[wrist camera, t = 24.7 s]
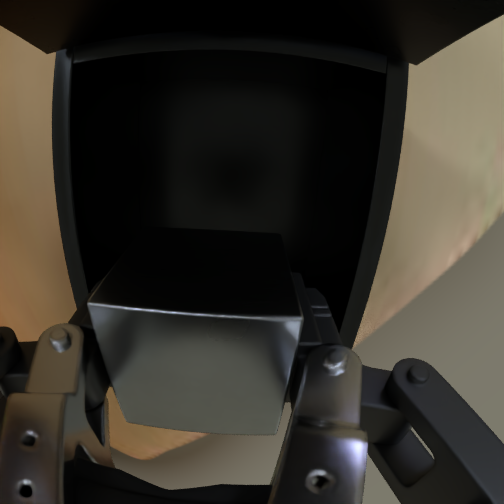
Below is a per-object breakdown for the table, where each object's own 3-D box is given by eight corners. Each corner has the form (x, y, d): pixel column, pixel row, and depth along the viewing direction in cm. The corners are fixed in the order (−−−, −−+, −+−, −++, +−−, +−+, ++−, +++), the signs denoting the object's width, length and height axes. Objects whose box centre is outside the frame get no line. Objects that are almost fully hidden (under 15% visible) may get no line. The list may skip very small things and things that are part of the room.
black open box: (308, 301, 23) (335, 392, 15) (139, 291, 22) (98, 376, 14) (339, 79, 16) (409, 58, 8) (133, 70, 15) (55, 47, 7)
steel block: (155, 331, 11) (125, 423, 7) (144, 225, 9) (84, 302, 5) (268, 339, 11) (276, 436, 7) (281, 232, 10) (305, 318, 6)
